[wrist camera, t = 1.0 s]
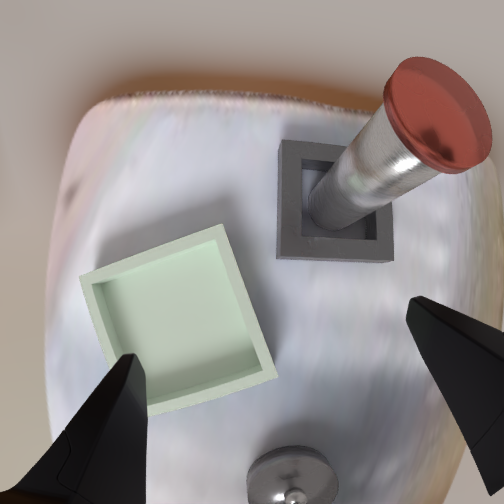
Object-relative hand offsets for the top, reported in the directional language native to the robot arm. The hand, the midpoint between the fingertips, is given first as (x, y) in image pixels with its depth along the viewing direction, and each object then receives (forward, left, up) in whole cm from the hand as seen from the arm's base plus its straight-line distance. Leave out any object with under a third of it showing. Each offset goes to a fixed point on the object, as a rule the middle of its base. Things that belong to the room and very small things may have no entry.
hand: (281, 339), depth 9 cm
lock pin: (0, -10, -13) cm, 16 cm away
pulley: (-12, +9, -13) cm, 20 cm away
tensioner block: (0, -10, -13) cm, 16 cm away
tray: (+3, +4, -13) cm, 14 cm away
